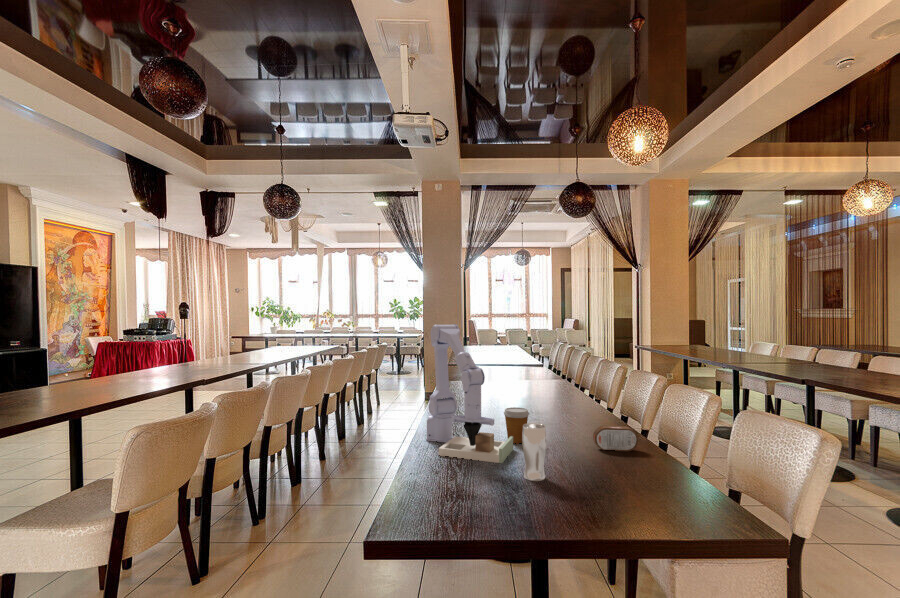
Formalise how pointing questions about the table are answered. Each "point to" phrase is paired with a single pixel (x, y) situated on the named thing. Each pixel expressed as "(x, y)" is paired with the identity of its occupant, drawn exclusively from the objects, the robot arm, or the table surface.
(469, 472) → the table surface
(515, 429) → the disposable coffee cup
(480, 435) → the walnut block
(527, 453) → the beer glass
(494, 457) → the trap board
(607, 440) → the tin
